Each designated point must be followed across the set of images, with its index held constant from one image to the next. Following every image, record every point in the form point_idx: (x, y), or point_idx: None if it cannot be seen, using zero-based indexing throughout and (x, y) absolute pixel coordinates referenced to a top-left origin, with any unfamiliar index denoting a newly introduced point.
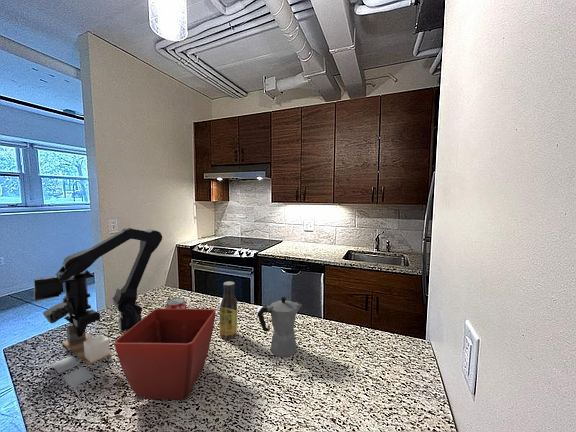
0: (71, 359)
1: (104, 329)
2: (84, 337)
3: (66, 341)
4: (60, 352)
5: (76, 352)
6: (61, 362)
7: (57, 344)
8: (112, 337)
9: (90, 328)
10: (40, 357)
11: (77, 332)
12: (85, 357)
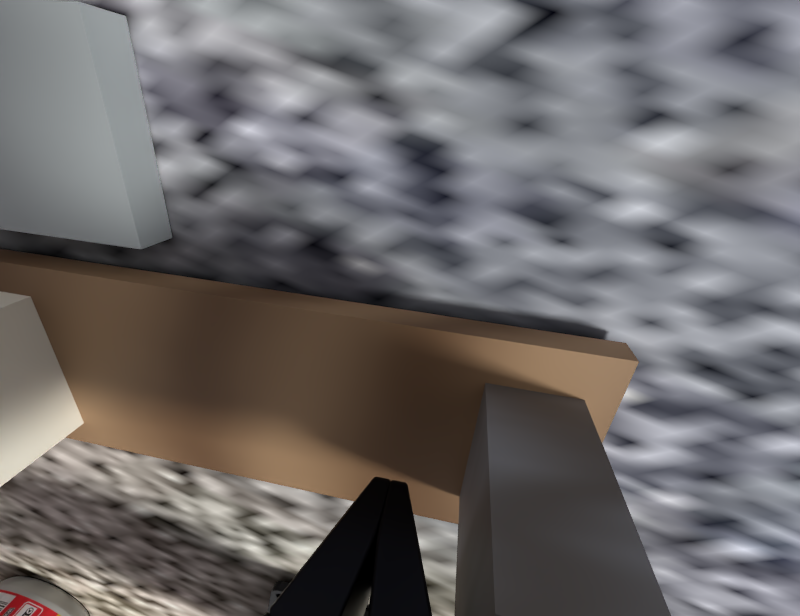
0: (51, 209)
1: None
2: (461, 489)
3: (578, 386)
4: (436, 242)
5: (177, 304)
6: (47, 115)
7: (710, 319)
8: (300, 535)
9: (671, 593)
10: (568, 26)
11: (317, 548)
12: (9, 294)
